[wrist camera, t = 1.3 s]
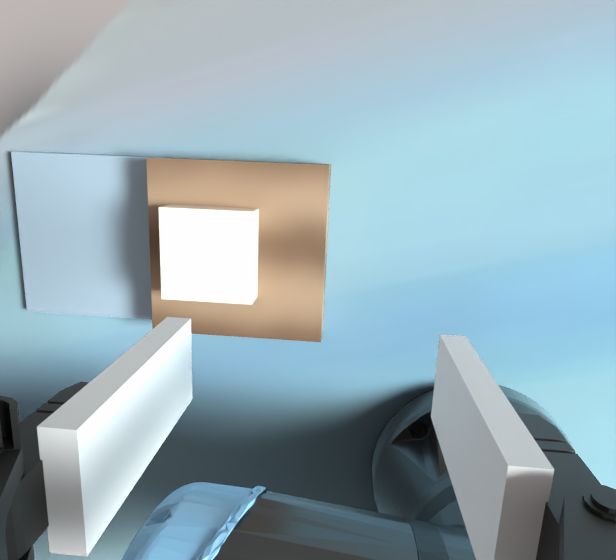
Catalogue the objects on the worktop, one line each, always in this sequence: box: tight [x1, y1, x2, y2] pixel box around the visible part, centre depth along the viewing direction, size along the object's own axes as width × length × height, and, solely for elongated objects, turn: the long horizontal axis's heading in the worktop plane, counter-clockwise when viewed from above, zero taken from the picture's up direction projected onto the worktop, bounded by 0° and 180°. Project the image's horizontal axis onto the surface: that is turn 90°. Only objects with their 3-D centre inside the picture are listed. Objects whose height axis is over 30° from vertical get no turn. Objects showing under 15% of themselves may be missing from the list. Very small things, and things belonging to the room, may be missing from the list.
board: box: [146, 157, 331, 342], centre depth 35 cm, size 12×12×3 cm
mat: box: [11, 152, 155, 319], centre depth 37 cm, size 12×11×1 cm
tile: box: [159, 205, 259, 305], centre depth 32 cm, size 6×6×2 cm
